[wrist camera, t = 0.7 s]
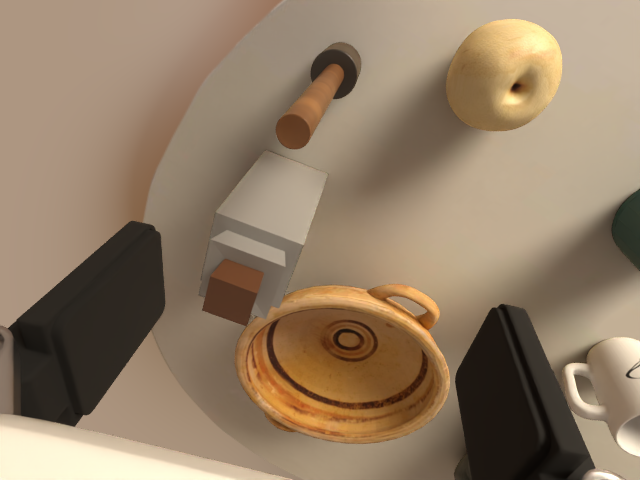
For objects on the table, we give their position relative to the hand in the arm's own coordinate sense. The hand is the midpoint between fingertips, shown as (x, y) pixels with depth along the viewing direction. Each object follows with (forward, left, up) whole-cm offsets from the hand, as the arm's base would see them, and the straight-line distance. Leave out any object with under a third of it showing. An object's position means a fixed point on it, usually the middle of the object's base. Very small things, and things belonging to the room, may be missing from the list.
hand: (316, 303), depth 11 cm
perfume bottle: (+11, -6, -29) cm, 31 cm away
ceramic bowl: (+29, +4, -29) cm, 41 cm away
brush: (-2, -3, -29) cm, 29 cm away
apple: (-4, +10, -29) cm, 31 cm away
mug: (+23, +34, -29) cm, 50 cm away
